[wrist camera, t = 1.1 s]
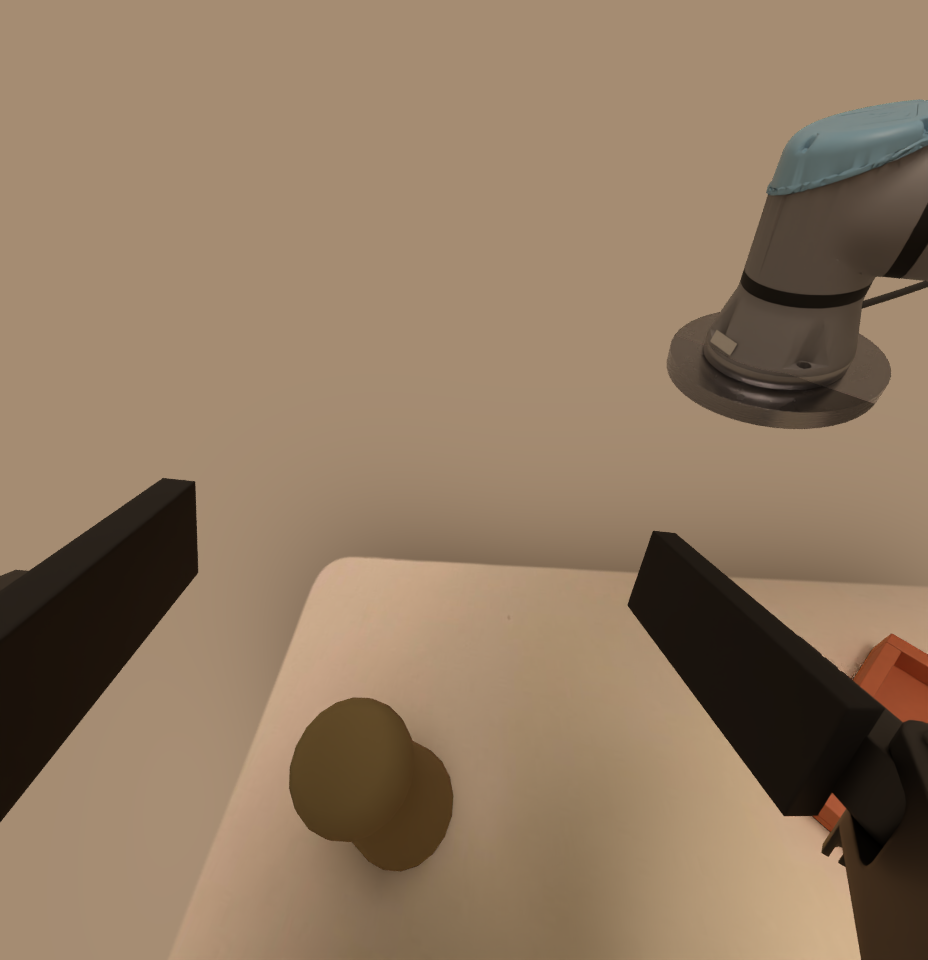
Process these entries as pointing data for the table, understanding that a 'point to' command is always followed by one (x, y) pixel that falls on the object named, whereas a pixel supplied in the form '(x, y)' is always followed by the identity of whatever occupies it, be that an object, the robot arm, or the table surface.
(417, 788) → the cork
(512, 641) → the table surface
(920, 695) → the terracotta tray
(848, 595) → the table surface
